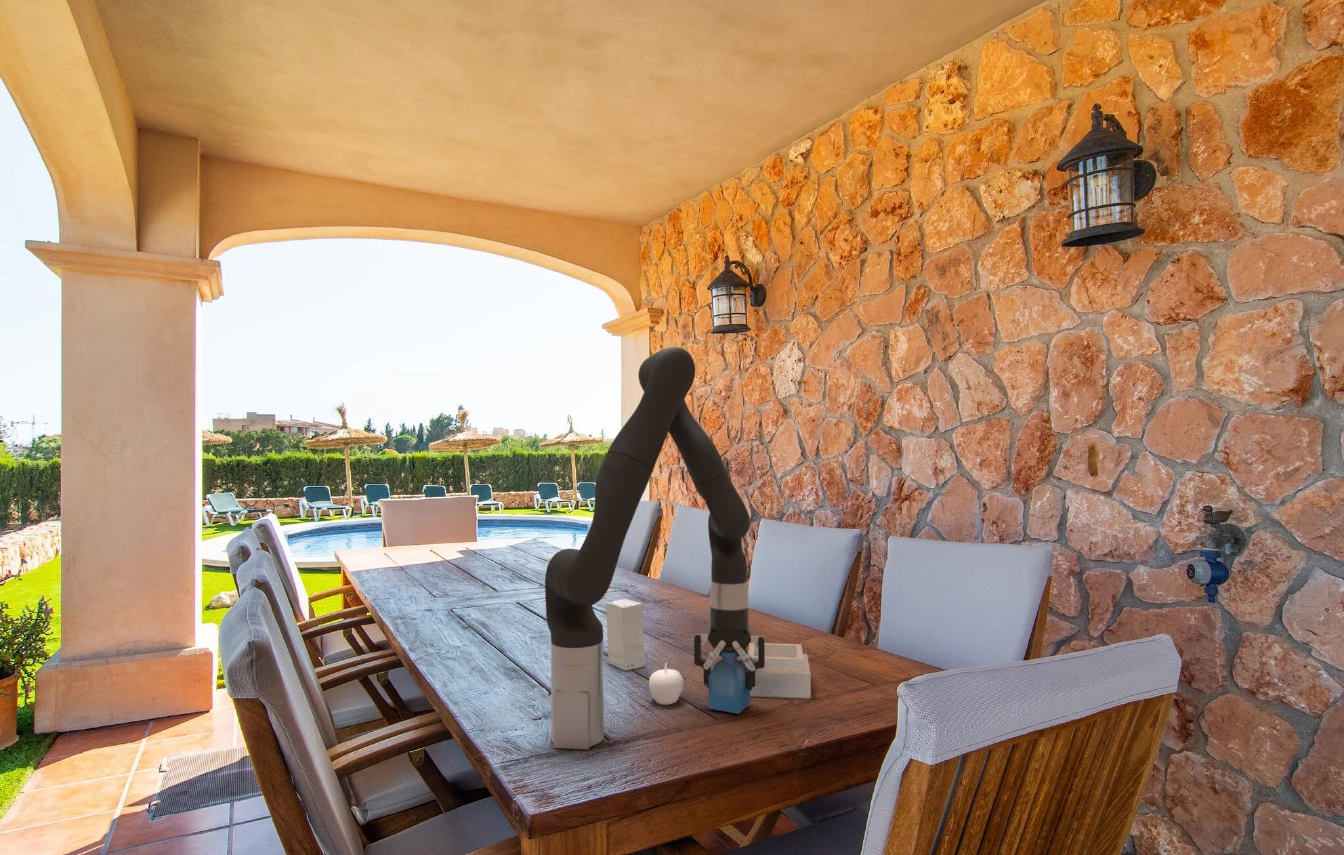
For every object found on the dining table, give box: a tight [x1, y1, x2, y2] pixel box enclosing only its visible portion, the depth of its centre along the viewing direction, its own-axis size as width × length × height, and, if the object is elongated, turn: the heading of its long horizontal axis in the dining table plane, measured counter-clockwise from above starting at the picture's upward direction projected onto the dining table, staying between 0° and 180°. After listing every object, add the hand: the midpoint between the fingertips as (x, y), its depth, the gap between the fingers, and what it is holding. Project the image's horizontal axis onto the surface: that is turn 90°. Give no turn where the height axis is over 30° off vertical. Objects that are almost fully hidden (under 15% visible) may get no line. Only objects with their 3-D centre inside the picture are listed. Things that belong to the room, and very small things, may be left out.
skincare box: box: [605, 598, 646, 671], centre depth 171 cm, size 8×6×15 cm
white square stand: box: [743, 642, 812, 700], centre depth 155 cm, size 14×14×8 cm
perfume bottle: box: [708, 646, 751, 715], centre depth 142 cm, size 6×6×12 cm
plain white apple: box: [648, 662, 684, 706], centre depth 146 cm, size 7×7×8 cm
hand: (729, 687), depth 142 cm, fingers closed on perfume bottle, 7 cm apart
